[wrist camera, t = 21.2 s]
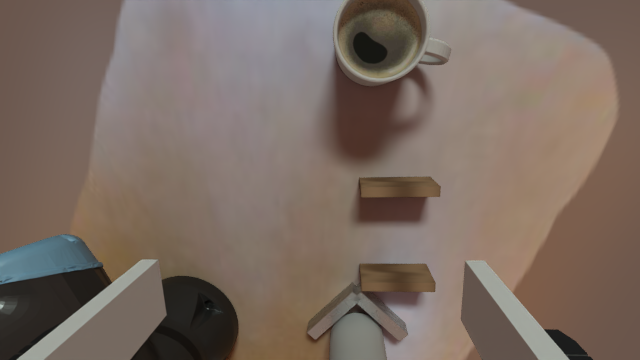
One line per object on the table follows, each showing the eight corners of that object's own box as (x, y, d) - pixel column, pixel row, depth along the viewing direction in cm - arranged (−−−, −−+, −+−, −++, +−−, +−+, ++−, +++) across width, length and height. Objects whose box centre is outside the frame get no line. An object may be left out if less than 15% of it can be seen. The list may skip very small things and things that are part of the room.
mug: (320, 43, 41) (313, 27, 32) (383, -15, 39) (396, -51, 30) (376, 113, 43) (386, 118, 33) (440, 61, 41) (470, 50, 31)
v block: (309, 328, 51) (307, 339, 48) (307, 281, 49) (305, 291, 46) (404, 329, 50) (408, 341, 47) (406, 282, 48) (409, 292, 45)
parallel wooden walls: (359, 271, 48) (361, 291, 43) (359, 177, 45) (361, 187, 40) (425, 271, 47) (435, 291, 42) (429, 176, 44) (440, 186, 39)
